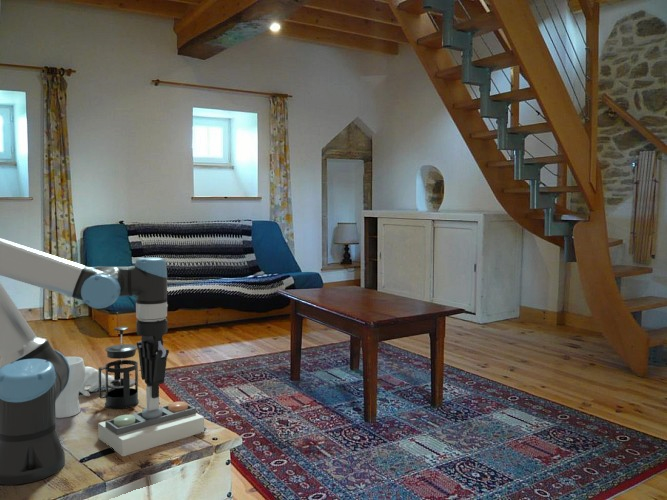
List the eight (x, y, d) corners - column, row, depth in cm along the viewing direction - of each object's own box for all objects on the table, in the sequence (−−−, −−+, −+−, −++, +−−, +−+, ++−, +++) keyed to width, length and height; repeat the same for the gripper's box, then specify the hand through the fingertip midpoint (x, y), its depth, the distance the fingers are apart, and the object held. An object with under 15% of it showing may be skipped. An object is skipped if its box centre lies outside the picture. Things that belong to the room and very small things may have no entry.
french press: (135, 395, 174) (134, 322, 173) (145, 404, 167) (145, 328, 165) (95, 403, 167) (94, 327, 165) (104, 412, 160) (103, 333, 158)
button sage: (119, 431, 136) (119, 423, 136) (110, 425, 140) (110, 418, 140) (138, 426, 140) (138, 418, 140) (129, 420, 143) (129, 413, 143)
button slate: (147, 422, 141) (147, 415, 141) (138, 417, 145) (138, 409, 145) (165, 417, 145) (165, 410, 145) (156, 412, 148) (156, 405, 148)
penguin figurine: (73, 365, 175) (112, 362, 183) (71, 392, 175) (110, 388, 183) (79, 370, 170) (119, 367, 178) (77, 398, 170) (117, 394, 178)
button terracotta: (174, 417, 146) (174, 409, 146) (164, 411, 150) (164, 404, 150) (191, 412, 150) (191, 405, 150) (181, 407, 153) (181, 400, 153)
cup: (74, 420, 154) (74, 366, 152) (36, 419, 154) (35, 365, 153) (92, 406, 164) (91, 356, 163) (56, 405, 164) (55, 355, 163)
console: (122, 456, 132) (122, 433, 132) (98, 438, 142) (98, 417, 142) (204, 431, 148) (204, 411, 147) (177, 416, 158) (177, 397, 157)
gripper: (178, 320, 141) (179, 412, 143) (153, 312, 150) (154, 399, 152) (150, 324, 136) (151, 419, 137) (126, 316, 145) (127, 405, 147)
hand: (153, 408), depth 145 cm, fingers closed
